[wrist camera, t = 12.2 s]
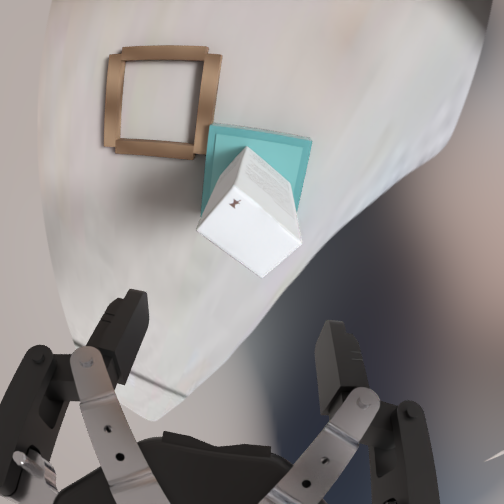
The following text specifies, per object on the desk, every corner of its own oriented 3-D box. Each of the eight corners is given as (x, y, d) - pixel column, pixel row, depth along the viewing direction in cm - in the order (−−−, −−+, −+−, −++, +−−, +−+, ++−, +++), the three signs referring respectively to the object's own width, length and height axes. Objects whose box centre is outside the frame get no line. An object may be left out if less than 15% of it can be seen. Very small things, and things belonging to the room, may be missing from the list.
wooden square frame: (115, 48, 24) (110, 48, 23) (223, 49, 25) (221, 47, 24) (108, 150, 31) (103, 152, 30) (208, 159, 31) (206, 161, 30)
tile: (213, 122, 29) (209, 125, 27) (309, 137, 29) (312, 141, 28) (204, 209, 34) (200, 217, 32) (291, 223, 35) (292, 232, 33)
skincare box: (219, 175, 30) (191, 229, 20) (246, 144, 28) (233, 182, 18) (264, 212, 32) (261, 281, 21) (292, 184, 30) (305, 242, 20)
